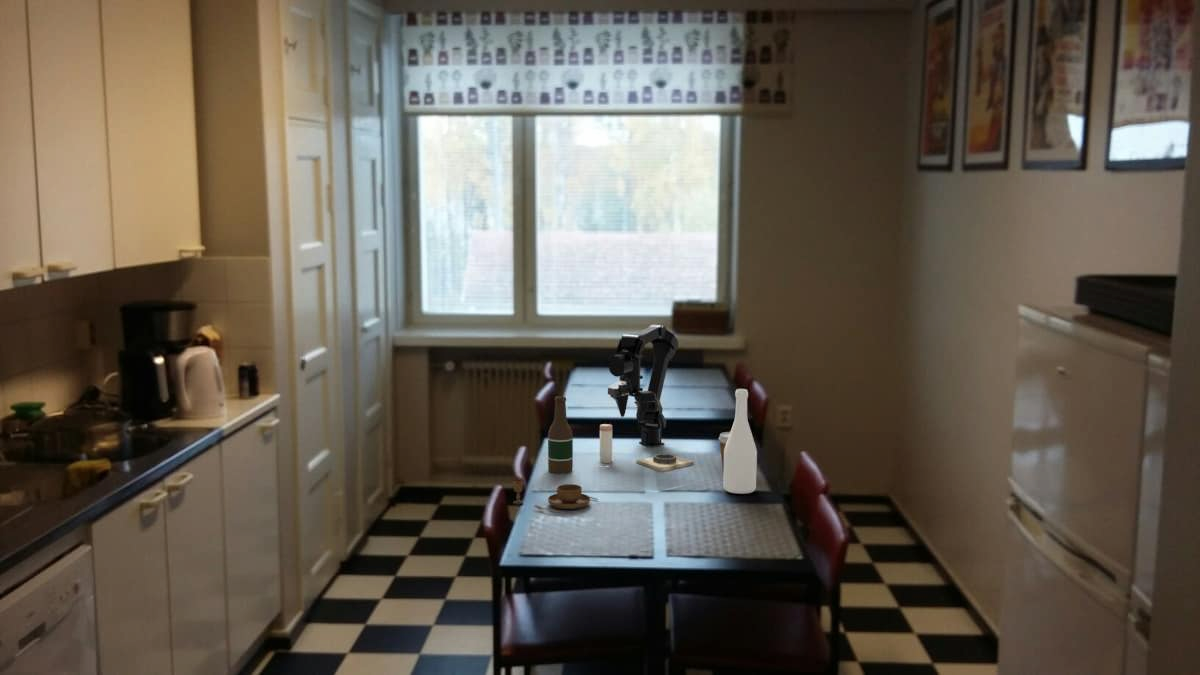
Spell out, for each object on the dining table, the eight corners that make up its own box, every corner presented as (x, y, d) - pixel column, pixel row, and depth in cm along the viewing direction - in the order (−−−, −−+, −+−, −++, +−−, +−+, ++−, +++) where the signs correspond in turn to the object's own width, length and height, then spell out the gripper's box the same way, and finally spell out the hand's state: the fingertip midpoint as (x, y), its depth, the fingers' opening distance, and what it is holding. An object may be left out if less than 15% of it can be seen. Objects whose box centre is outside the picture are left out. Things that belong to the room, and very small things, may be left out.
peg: (597, 461, 327) (597, 425, 326) (606, 459, 330) (607, 423, 328) (604, 463, 324) (604, 427, 323) (614, 462, 327) (614, 425, 325)
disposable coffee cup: (712, 470, 319) (712, 433, 318) (737, 467, 323) (738, 430, 322) (728, 477, 311) (728, 439, 309) (754, 474, 315) (755, 436, 313)
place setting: (568, 515, 273) (568, 494, 272) (510, 503, 284) (510, 483, 283) (603, 500, 287) (603, 480, 287) (546, 489, 298) (546, 470, 297)
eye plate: (668, 458, 334) (669, 449, 334) (693, 466, 324) (693, 456, 324) (636, 464, 326) (636, 455, 325) (660, 472, 316) (660, 463, 316)
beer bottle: (574, 469, 320) (574, 394, 317) (571, 475, 312) (571, 399, 309) (549, 468, 320) (549, 394, 318) (546, 474, 313) (546, 398, 310)
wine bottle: (724, 494, 292) (726, 392, 288) (721, 485, 302) (723, 386, 298) (757, 494, 292) (760, 392, 288) (753, 485, 301) (756, 387, 298)
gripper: (595, 371, 335) (594, 417, 337) (630, 378, 320) (629, 426, 322) (621, 368, 341) (621, 413, 343) (656, 375, 327) (656, 422, 329)
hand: (631, 418), depth 334 cm, fingers open, 9 cm apart
